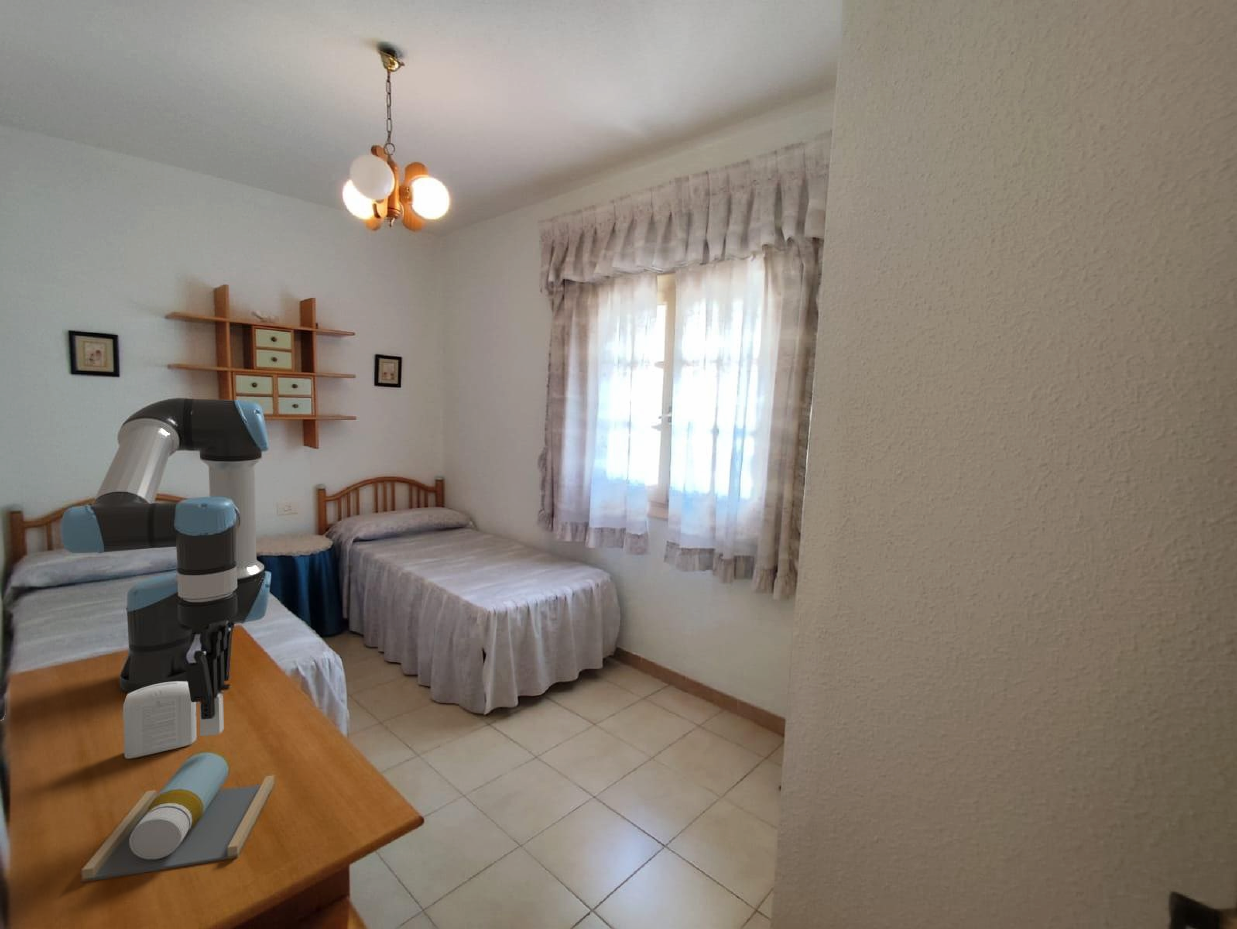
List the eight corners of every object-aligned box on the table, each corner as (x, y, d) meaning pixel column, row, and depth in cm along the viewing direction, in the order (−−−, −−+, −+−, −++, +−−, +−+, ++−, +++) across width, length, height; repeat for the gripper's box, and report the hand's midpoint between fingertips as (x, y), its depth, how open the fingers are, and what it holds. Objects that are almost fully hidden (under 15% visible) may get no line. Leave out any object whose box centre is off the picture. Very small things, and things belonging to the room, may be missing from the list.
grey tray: (147, 801, 85) (146, 791, 85) (274, 785, 90) (274, 775, 90) (82, 882, 71) (81, 869, 71) (237, 857, 76) (237, 846, 76)
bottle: (175, 781, 87) (116, 857, 73) (193, 743, 87) (137, 811, 73) (221, 791, 89) (172, 866, 75) (239, 753, 89) (193, 821, 75)
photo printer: (198, 733, 103) (196, 672, 102) (195, 745, 99) (193, 683, 98) (127, 749, 97) (124, 686, 96) (122, 763, 94) (118, 697, 92)
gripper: (200, 582, 90) (204, 712, 92) (157, 610, 77) (163, 761, 80) (251, 580, 92) (253, 708, 94) (217, 607, 79) (221, 754, 82)
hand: (212, 732), depth 87 cm, fingers closed
